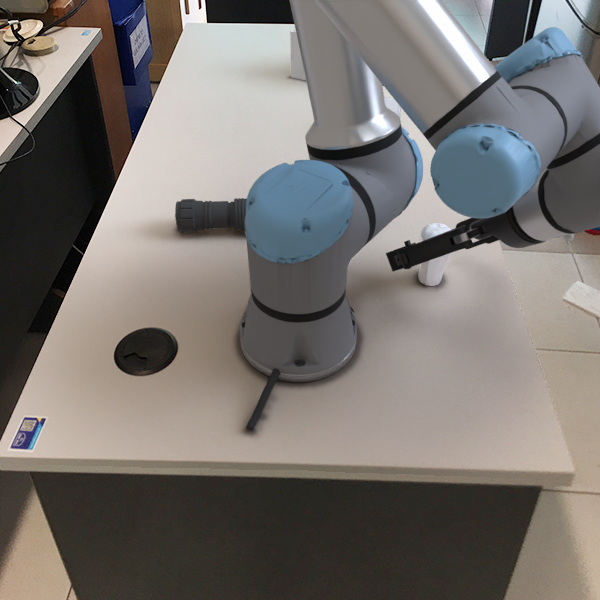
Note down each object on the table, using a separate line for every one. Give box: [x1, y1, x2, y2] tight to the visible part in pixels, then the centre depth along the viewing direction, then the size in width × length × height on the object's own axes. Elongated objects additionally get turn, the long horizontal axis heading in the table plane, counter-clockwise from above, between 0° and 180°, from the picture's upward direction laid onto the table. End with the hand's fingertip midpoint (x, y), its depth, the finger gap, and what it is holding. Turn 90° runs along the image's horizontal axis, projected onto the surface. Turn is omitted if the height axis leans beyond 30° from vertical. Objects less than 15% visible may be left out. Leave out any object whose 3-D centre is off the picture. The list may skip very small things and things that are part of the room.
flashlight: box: [174, 197, 247, 234], centre depth 99 cm, size 15×5×5 cm, turn 93°
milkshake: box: [417, 222, 452, 287], centre depth 88 cm, size 4×5×10 cm
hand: (429, 245), depth 89 cm, fingers open, 13 cm apart
